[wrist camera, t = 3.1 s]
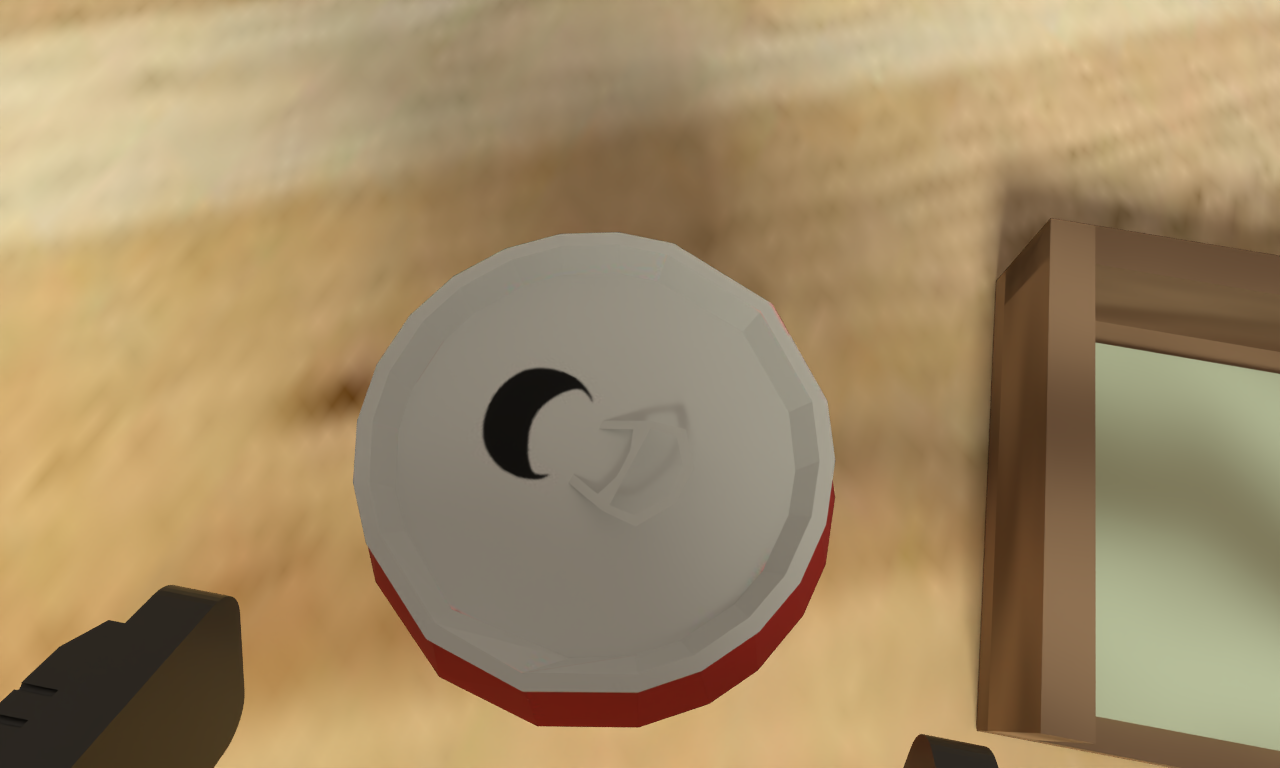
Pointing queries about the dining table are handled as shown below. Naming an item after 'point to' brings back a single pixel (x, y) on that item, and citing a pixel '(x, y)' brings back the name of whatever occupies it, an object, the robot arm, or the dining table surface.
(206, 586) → the dining table surface
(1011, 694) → the caddy
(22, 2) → the dining table surface
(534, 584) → the soda can
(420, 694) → the dining table surface
